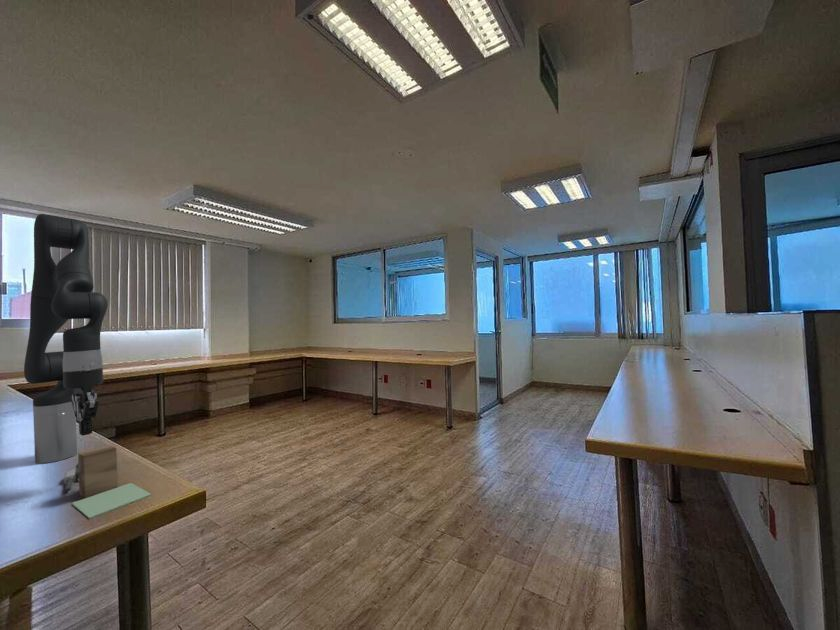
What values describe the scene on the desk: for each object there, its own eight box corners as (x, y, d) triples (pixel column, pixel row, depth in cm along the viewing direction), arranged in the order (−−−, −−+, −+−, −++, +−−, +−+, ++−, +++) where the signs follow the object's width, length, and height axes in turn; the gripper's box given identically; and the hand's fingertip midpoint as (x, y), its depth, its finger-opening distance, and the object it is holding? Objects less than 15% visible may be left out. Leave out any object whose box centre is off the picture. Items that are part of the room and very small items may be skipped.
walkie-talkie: (67, 472, 100) (61, 497, 85) (67, 456, 100) (61, 478, 85) (109, 462, 106) (110, 484, 91) (108, 447, 106) (109, 467, 91)
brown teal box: (79, 493, 85) (77, 452, 85) (110, 483, 90) (109, 444, 90) (85, 498, 83) (84, 456, 83) (117, 487, 88) (116, 447, 88)
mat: (72, 504, 80) (72, 503, 80) (131, 483, 90) (131, 482, 90) (89, 518, 74) (89, 517, 74) (151, 495, 83) (151, 494, 83)
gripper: (55, 369, 92) (58, 435, 92) (71, 371, 85) (74, 442, 85) (93, 365, 98) (96, 427, 98) (110, 366, 91) (113, 433, 91)
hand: (86, 434), depth 91 cm, fingers closed
